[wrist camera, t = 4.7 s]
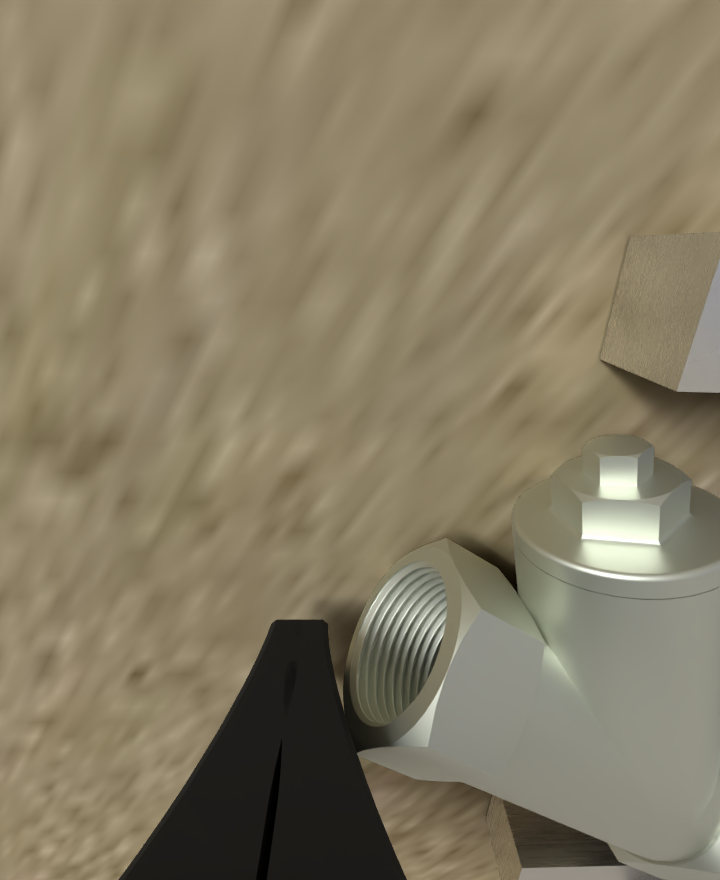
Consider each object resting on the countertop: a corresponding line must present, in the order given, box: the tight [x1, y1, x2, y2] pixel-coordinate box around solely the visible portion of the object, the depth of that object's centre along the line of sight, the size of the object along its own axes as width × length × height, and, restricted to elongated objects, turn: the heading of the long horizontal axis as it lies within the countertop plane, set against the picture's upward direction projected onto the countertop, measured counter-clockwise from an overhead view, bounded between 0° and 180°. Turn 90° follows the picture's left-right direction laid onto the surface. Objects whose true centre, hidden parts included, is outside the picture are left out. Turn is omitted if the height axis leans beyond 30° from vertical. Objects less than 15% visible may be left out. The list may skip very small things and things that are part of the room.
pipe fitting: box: [343, 435, 720, 880], centre depth 8 cm, size 8×4×7 cm
